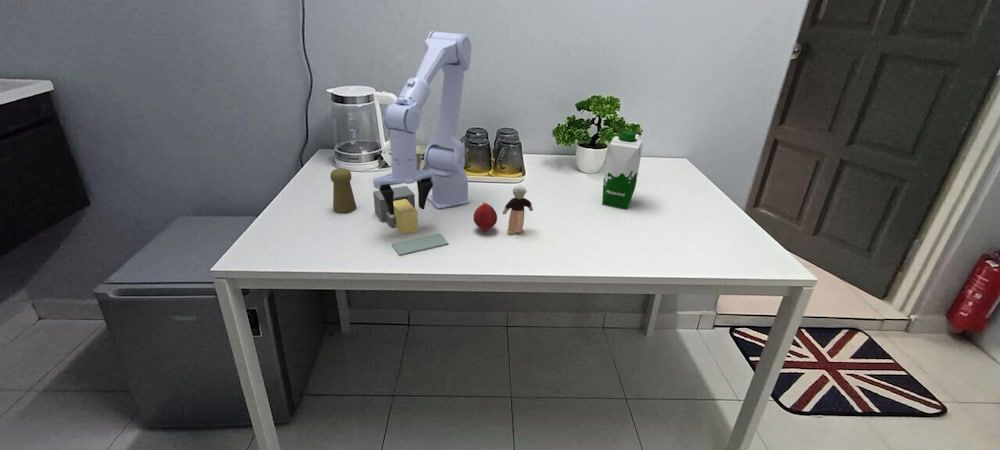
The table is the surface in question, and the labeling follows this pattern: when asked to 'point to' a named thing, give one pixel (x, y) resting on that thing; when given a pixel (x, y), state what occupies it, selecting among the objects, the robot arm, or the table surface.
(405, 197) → the grey boxy piece
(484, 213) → the onion
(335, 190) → the cork
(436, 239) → the mat
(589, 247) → the table surface
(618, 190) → the milk carton
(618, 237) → the table surface
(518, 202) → the grandmother figurine
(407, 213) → the tall tan block
